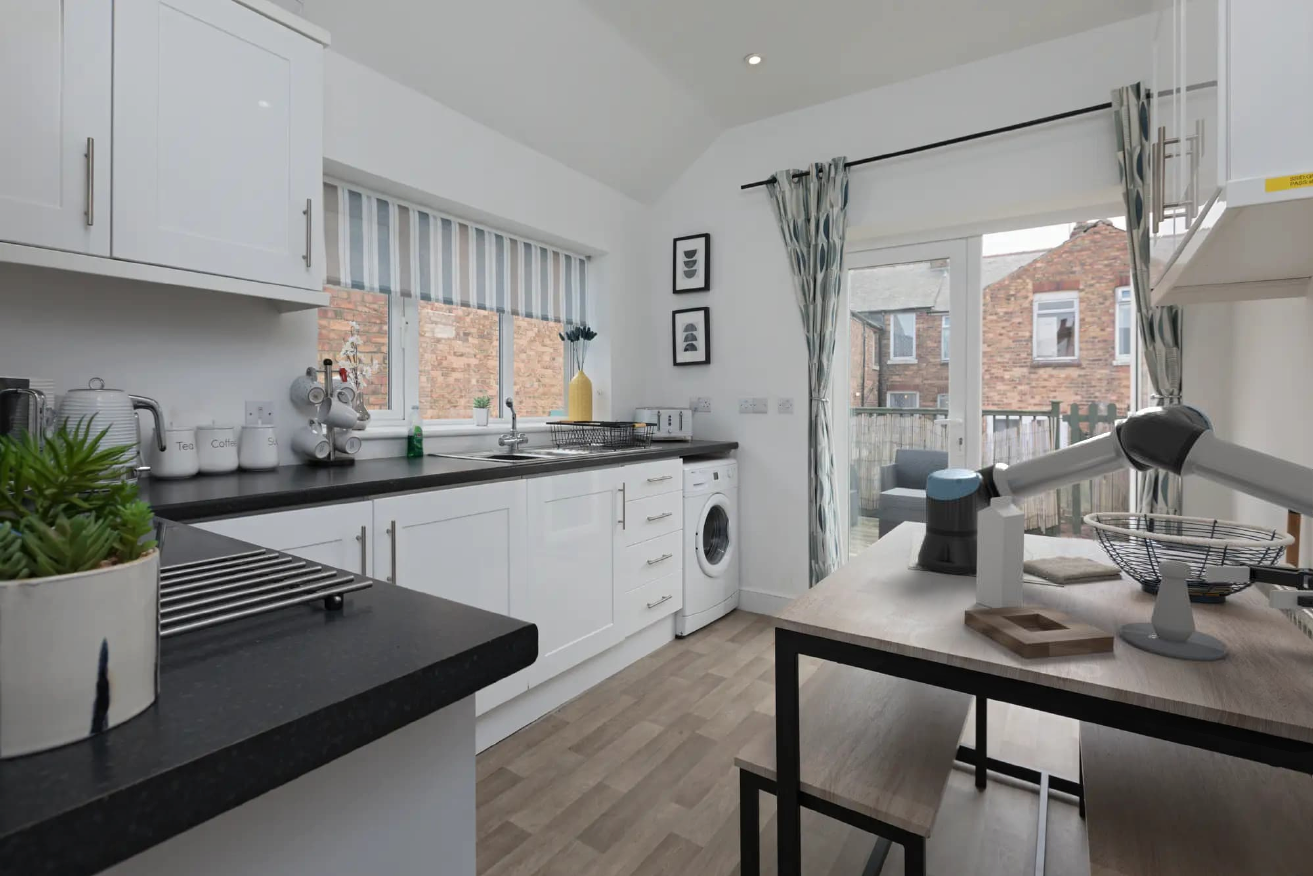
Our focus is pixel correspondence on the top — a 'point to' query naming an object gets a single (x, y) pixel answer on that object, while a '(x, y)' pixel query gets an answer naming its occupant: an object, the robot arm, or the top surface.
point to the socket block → (1054, 641)
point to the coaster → (1173, 643)
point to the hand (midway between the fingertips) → (1236, 585)
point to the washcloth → (1071, 569)
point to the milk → (1000, 554)
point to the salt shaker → (1173, 603)
